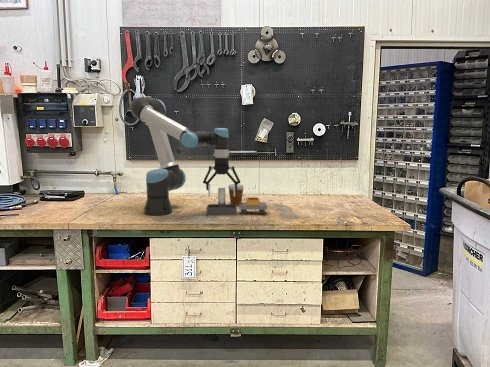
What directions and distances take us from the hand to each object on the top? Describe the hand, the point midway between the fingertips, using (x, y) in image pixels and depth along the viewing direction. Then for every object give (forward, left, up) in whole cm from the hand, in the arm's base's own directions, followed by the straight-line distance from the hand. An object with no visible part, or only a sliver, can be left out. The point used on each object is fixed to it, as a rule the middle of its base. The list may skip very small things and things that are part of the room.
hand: (221, 196), depth 205 cm
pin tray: (0, 0, -9) cm, 9 cm away
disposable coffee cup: (+8, +21, -10) cm, 24 cm away
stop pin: (0, 0, -9) cm, 9 cm away
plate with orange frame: (+17, 0, -9) cm, 19 cm away
